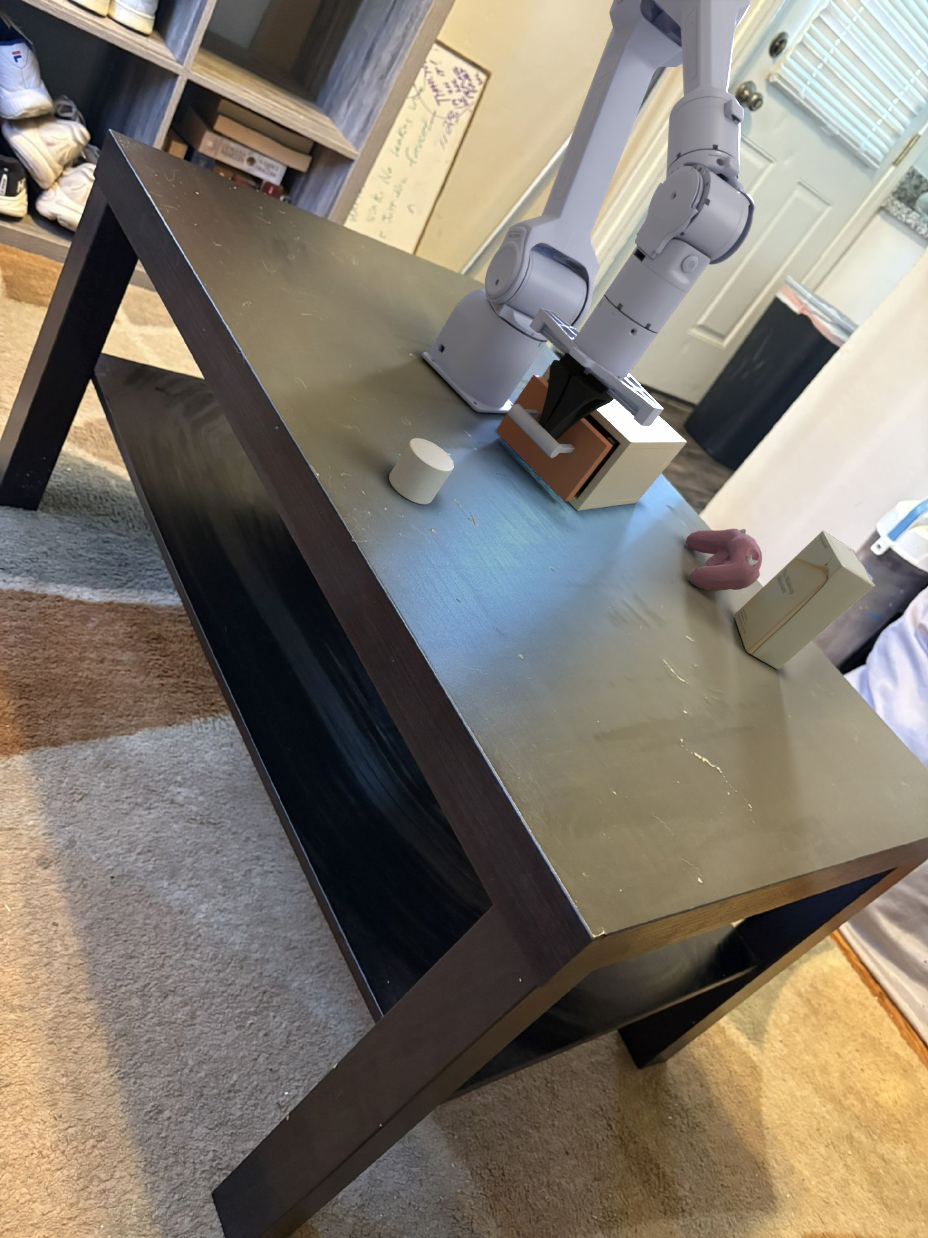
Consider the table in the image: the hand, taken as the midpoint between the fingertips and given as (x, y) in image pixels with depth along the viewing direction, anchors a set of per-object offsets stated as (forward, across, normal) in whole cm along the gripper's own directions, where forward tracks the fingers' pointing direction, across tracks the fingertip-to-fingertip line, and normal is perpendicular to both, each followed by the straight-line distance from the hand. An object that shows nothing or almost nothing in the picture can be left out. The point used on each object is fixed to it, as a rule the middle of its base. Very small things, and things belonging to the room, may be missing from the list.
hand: (542, 440), depth 81 cm
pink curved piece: (+5, +16, +17) cm, 24 cm away
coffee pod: (+5, 0, -16) cm, 17 cm away
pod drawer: (+3, 0, +6) cm, 7 cm away
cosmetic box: (+5, +26, +13) cm, 29 cm away
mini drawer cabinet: (+4, 0, +12) cm, 12 cm away
